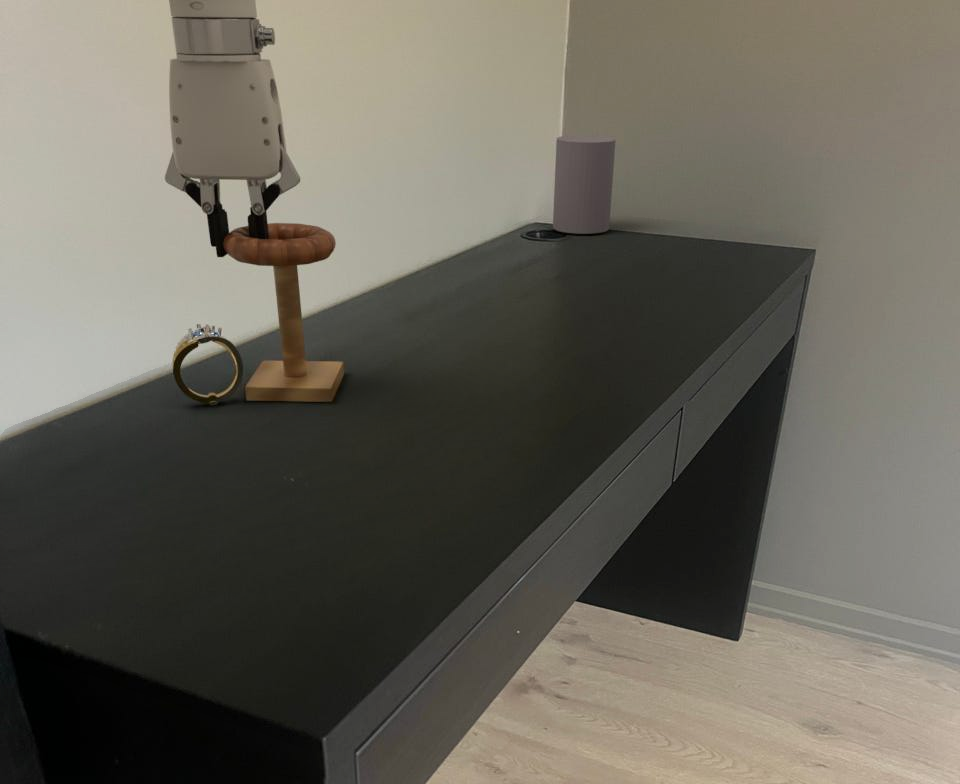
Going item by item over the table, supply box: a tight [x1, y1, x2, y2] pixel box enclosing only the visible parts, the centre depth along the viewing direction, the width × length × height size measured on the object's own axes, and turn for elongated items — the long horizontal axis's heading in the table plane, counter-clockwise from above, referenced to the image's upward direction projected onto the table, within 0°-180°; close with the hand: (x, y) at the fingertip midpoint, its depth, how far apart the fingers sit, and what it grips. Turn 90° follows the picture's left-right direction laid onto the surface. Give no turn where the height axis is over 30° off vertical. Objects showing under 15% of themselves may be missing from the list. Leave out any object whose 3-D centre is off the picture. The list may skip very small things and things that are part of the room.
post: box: [244, 265, 345, 403], centre depth 103 cm, size 9×9×14 cm
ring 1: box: [171, 323, 244, 406], centre depth 100 cm, size 7×3×8 cm, turn 107°
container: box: [552, 134, 617, 236], centre depth 177 cm, size 10×10×15 cm
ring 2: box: [223, 222, 337, 267], centre depth 99 cm, size 11×11×2 cm
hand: (241, 253), depth 99 cm, fingers closed on ring 2, 2 cm apart
